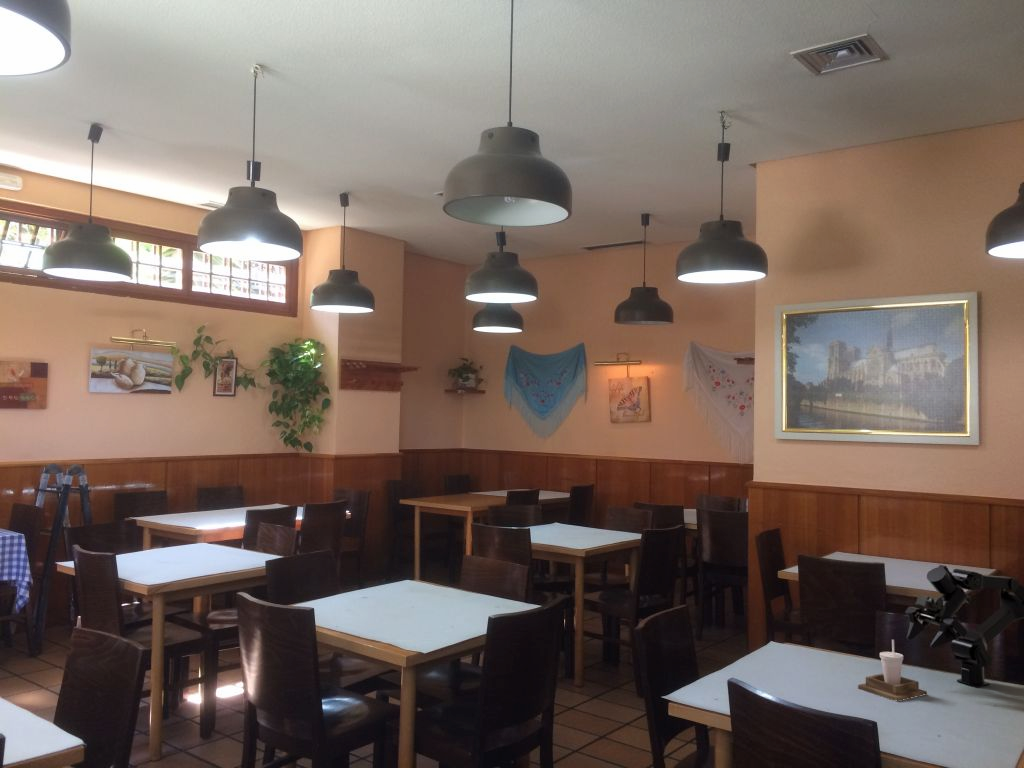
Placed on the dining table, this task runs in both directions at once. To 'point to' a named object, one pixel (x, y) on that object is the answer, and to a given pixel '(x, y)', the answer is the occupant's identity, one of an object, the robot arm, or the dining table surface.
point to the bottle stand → (892, 687)
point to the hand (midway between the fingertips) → (919, 643)
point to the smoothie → (891, 666)
